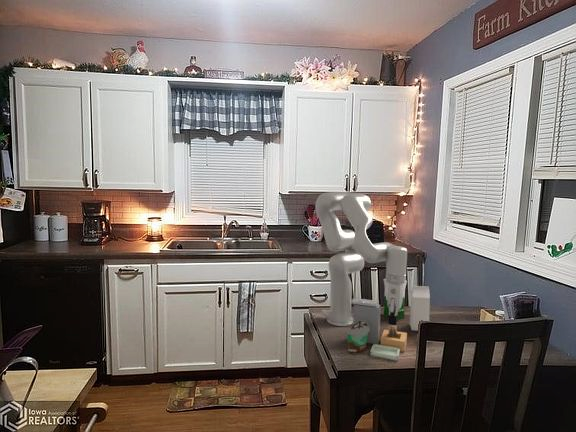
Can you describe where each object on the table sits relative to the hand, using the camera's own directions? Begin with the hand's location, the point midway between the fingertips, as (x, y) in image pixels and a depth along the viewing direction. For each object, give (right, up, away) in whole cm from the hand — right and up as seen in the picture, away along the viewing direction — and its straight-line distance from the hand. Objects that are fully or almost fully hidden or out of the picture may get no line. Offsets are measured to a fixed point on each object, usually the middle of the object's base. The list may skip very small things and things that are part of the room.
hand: (393, 322), depth 153 cm
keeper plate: (-11, +7, +3) cm, 13 cm away
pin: (0, -6, +1) cm, 6 cm away
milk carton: (+16, -8, +18) cm, 25 cm away
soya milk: (+9, -6, +31) cm, 33 cm away
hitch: (-5, -9, +3) cm, 11 cm away
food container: (-14, -10, -4) cm, 17 cm away
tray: (-5, -10, -8) cm, 14 cm away
